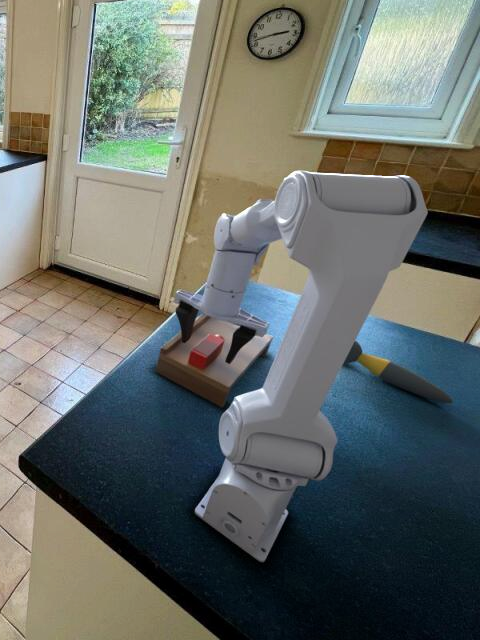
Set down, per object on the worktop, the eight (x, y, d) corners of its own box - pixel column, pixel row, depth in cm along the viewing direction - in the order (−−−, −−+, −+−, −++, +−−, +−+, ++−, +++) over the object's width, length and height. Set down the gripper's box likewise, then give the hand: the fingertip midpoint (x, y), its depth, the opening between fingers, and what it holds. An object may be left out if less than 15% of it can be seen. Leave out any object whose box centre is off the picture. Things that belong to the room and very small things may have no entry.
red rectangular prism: (202, 370, 73) (206, 357, 71) (187, 362, 74) (190, 350, 73) (224, 348, 78) (228, 336, 77) (210, 341, 80) (213, 329, 79)
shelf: (222, 407, 71) (231, 382, 68) (155, 371, 79) (160, 347, 77) (266, 354, 83) (275, 331, 81) (204, 328, 92) (211, 306, 89)
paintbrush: (451, 397, 72) (466, 375, 70) (447, 411, 70) (462, 388, 68) (314, 343, 87) (323, 323, 85) (306, 352, 84) (315, 332, 82)
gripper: (284, 293, 67) (259, 360, 72) (192, 263, 77) (177, 324, 82) (269, 308, 63) (244, 378, 68) (174, 274, 73) (160, 338, 78)
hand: (206, 350), depth 75 cm, fingers open, 7 cm apart
